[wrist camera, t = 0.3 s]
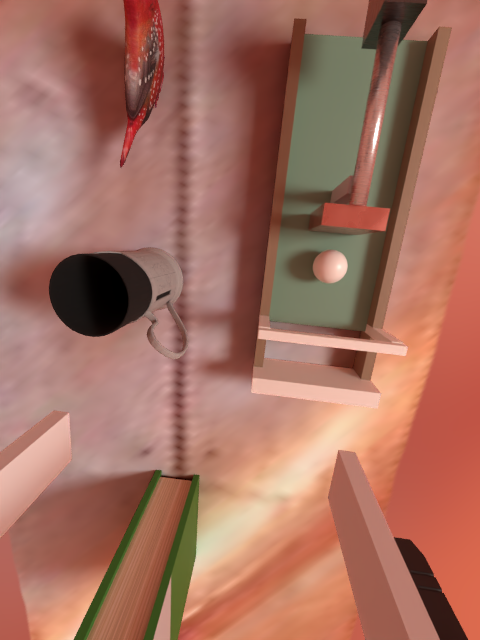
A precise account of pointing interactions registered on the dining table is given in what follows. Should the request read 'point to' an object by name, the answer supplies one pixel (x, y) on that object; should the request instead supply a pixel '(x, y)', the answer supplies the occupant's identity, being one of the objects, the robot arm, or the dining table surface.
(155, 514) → the hardback book
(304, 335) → the pitch
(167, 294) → the glass holder
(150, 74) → the decorative bird figurine
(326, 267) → the ball
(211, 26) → the dining table surface
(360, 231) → the foosball rod
